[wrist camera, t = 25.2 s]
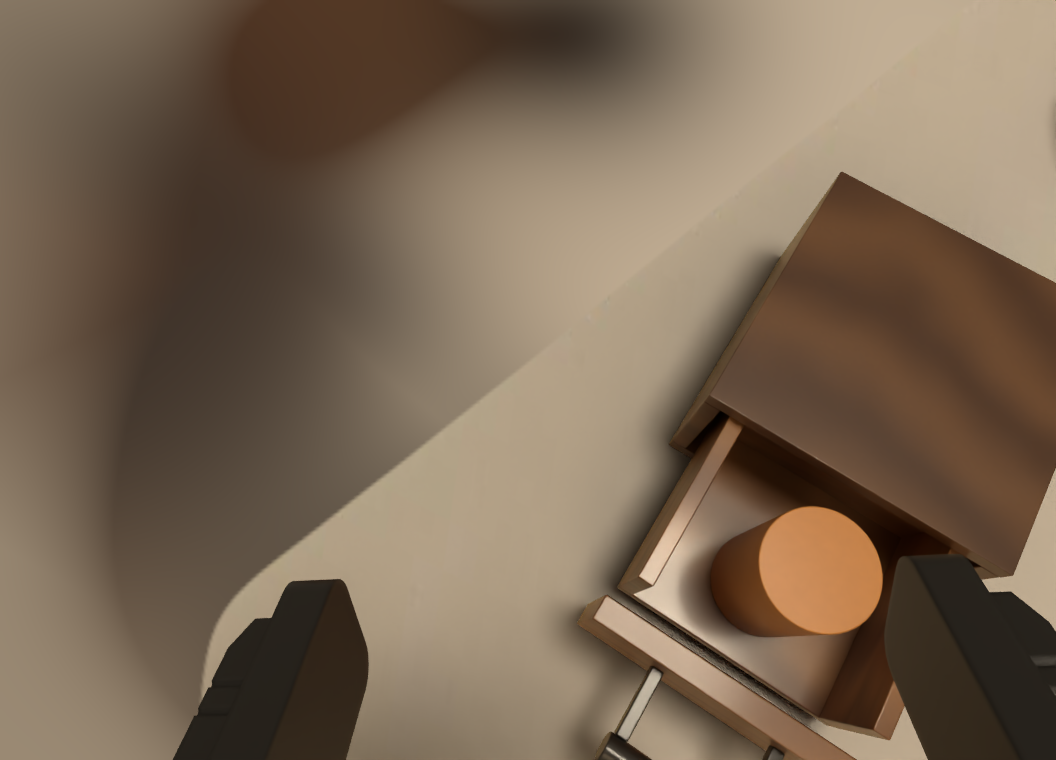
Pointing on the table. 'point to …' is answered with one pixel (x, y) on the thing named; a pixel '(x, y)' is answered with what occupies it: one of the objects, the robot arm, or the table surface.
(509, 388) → the table surface
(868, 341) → the cabinet
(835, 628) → the orange cylinder
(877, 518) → the drawer
